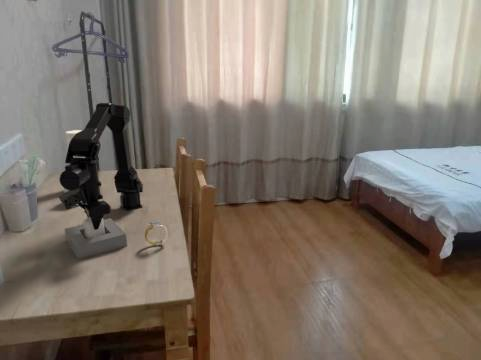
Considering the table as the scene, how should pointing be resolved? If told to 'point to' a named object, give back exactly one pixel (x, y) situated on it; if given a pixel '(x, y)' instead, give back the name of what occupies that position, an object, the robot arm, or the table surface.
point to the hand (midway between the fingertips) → (94, 227)
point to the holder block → (95, 239)
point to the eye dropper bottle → (90, 229)
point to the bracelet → (152, 228)
